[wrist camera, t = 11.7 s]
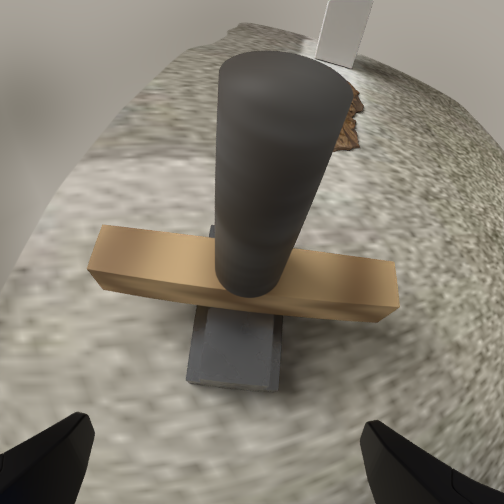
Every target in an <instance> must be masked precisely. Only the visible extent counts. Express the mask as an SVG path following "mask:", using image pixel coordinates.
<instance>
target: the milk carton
mask: <svg viewBox="0 0 504 504" xmlns="http://www.w3.org/2000/svg"><path fill="white" fill-rule="evenodd" d="M372 4H373V0H328V3H327V8H326V11H325V15H324V19H323V23H322V27H321V31H320V35H319V39H318V43H317V48H316V53H315V58H316V59H320V60H324V61H327V62H331V63H334V64H338V65H341V66H344V67H347V68H351V69H352V67H353V64H354V61H355V58H356V55H357V51H358V48H359V45H360V42H361V39H362V36H363V33H364V30H365V27H366V24H367V20H368V17H369V14H370V11H371V8H372Z"/></svg>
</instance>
